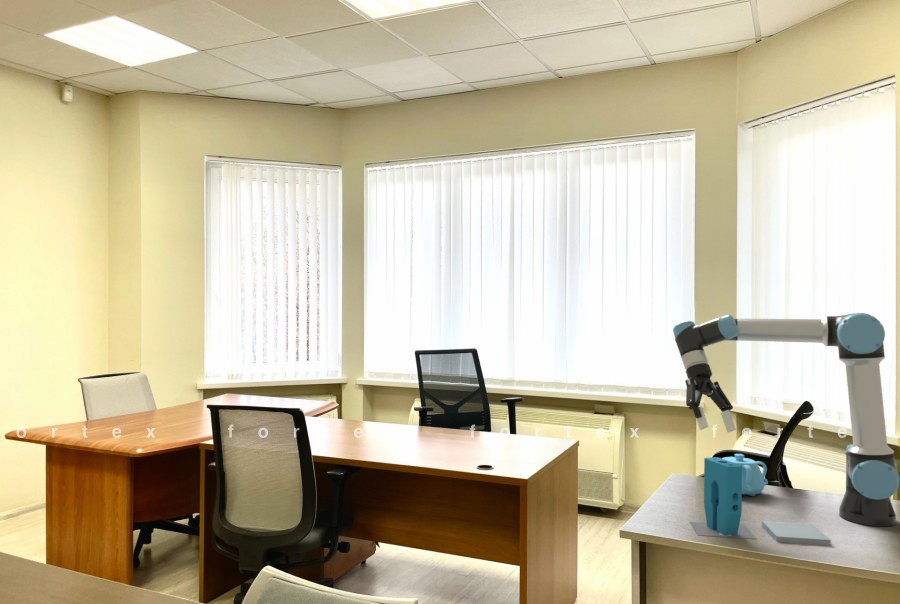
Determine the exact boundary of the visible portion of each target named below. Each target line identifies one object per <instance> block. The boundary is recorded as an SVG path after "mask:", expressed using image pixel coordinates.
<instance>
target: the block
mask: <svg viewBox="0 0 900 604" xmlns="http://www.w3.org/2000/svg"><path fill="white" fill-rule="evenodd" d="M703 461H704V462H703V463H704V464H703V465H704V466H703V467H704V468H703V471H704V472H703V473H704V474H703V477H704V478H703V506H704V513H705V520H706V523H707V527H709V528H711V529H717V532H718V533H720V534H722V535H736V534H737V533H738V528H739V525H740V522H741V518H742V512H743V511H742V509H743V507H742V501H743V500H742V498H743V497H742V496H743V494H742V466H741V465H738V464H735V463H733V462H730V461H727V460H724V459H722V458H721V457H714V456H713V457H704V459H703Z"/></svg>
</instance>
